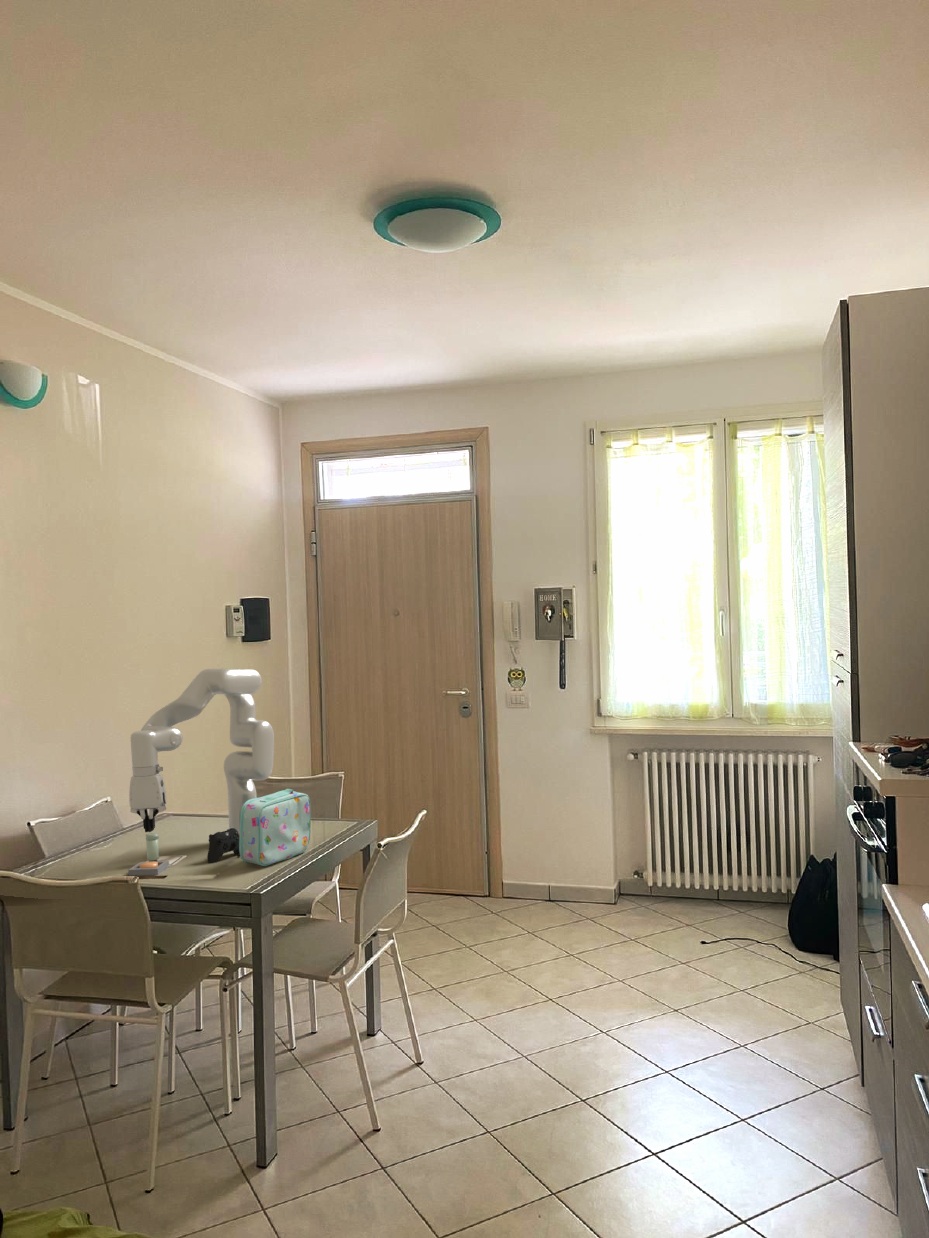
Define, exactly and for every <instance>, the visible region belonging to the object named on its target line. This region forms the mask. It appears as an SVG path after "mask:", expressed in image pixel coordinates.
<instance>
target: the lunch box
mask: <svg viewBox="0 0 929 1238" xmlns="http://www.w3.org/2000/svg"><path fill="white" fill-rule="evenodd" d="M311 809H312V807H311V799H310V797H309V795H308V794H306V793H303V792H297V791H294V789H291V788H286V789H285V790H284V789H283V790H279V791H277V792H274V793H270V794H267V795H264V796H261V797H260V796H259V797H257V798H255V799H250V800H248V801H246V802H245V803H244V804H243V806H242V808H241V811H240V837H239V853H240V857H239V858H240V859H241V860H242V862H243V863H245V864H253V865H258V866H262V867H267V866H271V865H272V864H275V863H278V862H281V861H285V860H289V859H292V858H294V857H295V856H298V855H301V854H302V853H305V851H306V850H307V848H308V846H309V844H310V839H311V820H312V819H311V818H312V817H311V814H312V813H311V812H312V811H311Z"/></svg>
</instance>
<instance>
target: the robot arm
mask: <svg viewBox="0 0 929 1238" xmlns="http://www.w3.org/2000/svg"><path fill="white" fill-rule="evenodd" d="M262 684H263V679H262V676H261V674H260V673H259V671H258V670H256V669H252V668H240V669H239V668H206V669H203V670H201V671H199V673H197V675H196V676H195V677H194V679H192V681H190V683H189V685H188V686H187V687H186V688H185V689H184V690H183V692H182V693H181V694H180V696H178V698H176V699H175V700H173V701H171V702H170V703H167V705H165V706H164V707H161V708H160V709H159V710H157V711H155V713H153V714H152V716H151V715H150V717H149V718H148V720H147V721H146V722H145V723H144V724H143V726H142V728H141V729H140V730H137V731H134V732H132V733H131V735H130V751H131V752H130V754H131V767H132V776H131V777H130V783H129V793H128V796H129V798H128V799H129V807H130V811H129V812H130V813H132V814H136V815H138V816H139V817H141V820H142V822H143V823H142V824H143V825H142V827H143V829H144V833H152V832H153V831H154V830H155V828H156V820H155V819H156V818H155V817H156V816H157V815H158V814H159V813H162V812H165V811H166V810H167V807H166V804H167V791H166V785H165V781H164V777H163V774H162V773H160V772H163V770H164V767H163V766H160V764H159V758H158V757H159V755H158V753H160V752H171V751H175V750H176V749H178V748H179V747H180V746H181V745H182V742H183V734H182V731H181V730H180V729H178V728H176V727H173V726H175V725H177V724H179V723H183V722H185V721H188V720H191V719H193V718H195V717H196V718H197V717H198V716H200V714H201V713H202V712H203V710H204V709H205V708H206V707H207V706H208V704H209V703H210V702H211V700H212V699H213V698H214V697H215V696H216V695H224V696H225V698H226V699H227V701H228V703H229V711H230V713H229V714H230V717H229V740H230V743H231V744H232V745H233V746H235V747H239V748H252V749H251V750H252V751H247V750H246V751H245V750H238V751H237V750H236V751H233V752H230V753H229V754H227V755H226V757H225V759H224V762H223V772H224V775H225V779H226V785H227V806H228V807H227V808H228V829H230V828H235V829H236V830H237V831H238V833H239V835H240V811H241V808H242V806H243V804H244V803H245V802H246V801H248V800H250V799H255V798H258V797H257V789H256V785H255V783H254V781H265V780H267V779H268V778H269V777H271V775H272V773H273V769H274V756H275V731H274V728H273V727H272V725H271V723H270V722H268V721H267V720H264V719H256V716H257V715H256V713H257V712H256V702H255V699H254V697H253V695H254V694H256V693H258V691H259V690H260V689H261V687H262ZM148 810H149V811H148Z"/></svg>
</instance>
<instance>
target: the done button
mask: <svg viewBox="0 0 929 1238" xmlns="http://www.w3.org/2000/svg"><path fill="white" fill-rule="evenodd" d="M143 862H144V863H141V864H140V868H156V867H158V862H154V861H152V862H146V861H143Z"/></svg>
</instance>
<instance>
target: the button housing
mask: <svg viewBox="0 0 929 1238" xmlns="http://www.w3.org/2000/svg"><path fill="white" fill-rule="evenodd" d="M144 862H145V861H140V862H138V863H136V864H134V865H133V866H132V867H130V868H129V869H128V870H127V871H128V876H159V875H161V873H162V872H165V870H167V869H168V868H169V867H170V866H169V861H154V862H158V867H156V868H140V864H141V863H144Z"/></svg>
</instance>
